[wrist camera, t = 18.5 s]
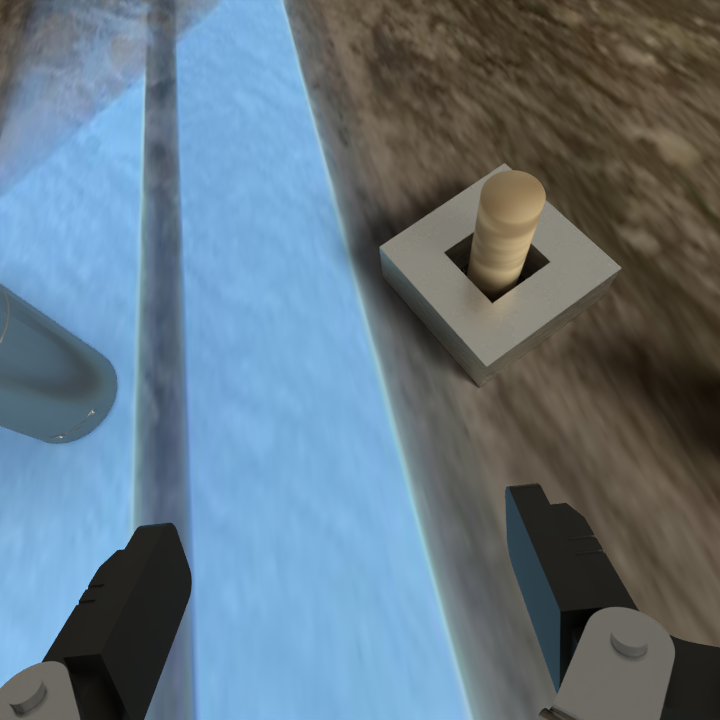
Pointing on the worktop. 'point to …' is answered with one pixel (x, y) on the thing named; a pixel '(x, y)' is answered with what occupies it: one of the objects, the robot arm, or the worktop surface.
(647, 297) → the worktop surface
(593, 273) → the white square frame block
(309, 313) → the worktop surface
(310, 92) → the worktop surface
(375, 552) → the worktop surface
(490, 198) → the peg
